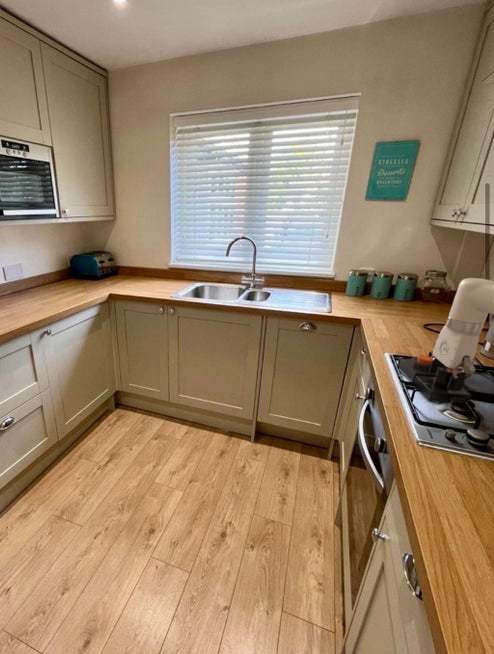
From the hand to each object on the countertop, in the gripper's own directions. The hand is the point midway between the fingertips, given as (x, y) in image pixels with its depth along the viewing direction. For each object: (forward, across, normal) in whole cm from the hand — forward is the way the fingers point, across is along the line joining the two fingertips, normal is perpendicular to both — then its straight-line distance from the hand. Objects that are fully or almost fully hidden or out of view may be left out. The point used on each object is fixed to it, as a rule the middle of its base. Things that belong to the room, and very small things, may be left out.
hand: (443, 381), depth 95 cm
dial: (+1, 0, 0) cm, 1 cm away
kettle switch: (0, -11, 0) cm, 11 cm away
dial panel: (+4, 0, 0) cm, 4 cm away
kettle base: (+4, -11, 0) cm, 12 cm away
